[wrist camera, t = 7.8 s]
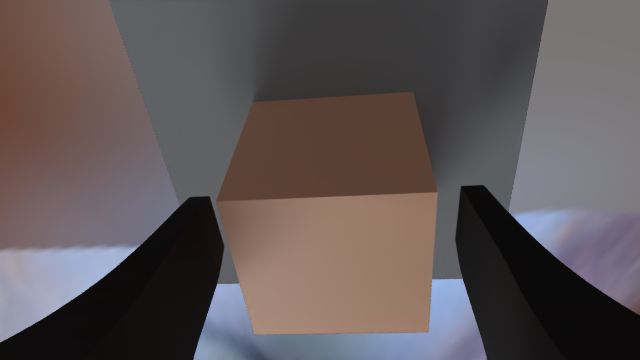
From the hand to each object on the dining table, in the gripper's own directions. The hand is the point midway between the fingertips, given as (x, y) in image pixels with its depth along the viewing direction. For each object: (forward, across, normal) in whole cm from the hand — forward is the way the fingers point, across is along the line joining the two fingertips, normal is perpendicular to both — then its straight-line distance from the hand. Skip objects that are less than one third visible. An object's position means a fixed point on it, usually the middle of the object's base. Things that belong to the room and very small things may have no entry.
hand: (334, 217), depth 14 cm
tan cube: (+3, 0, 0) cm, 3 cm away
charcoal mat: (+3, 0, 0) cm, 3 cm away
